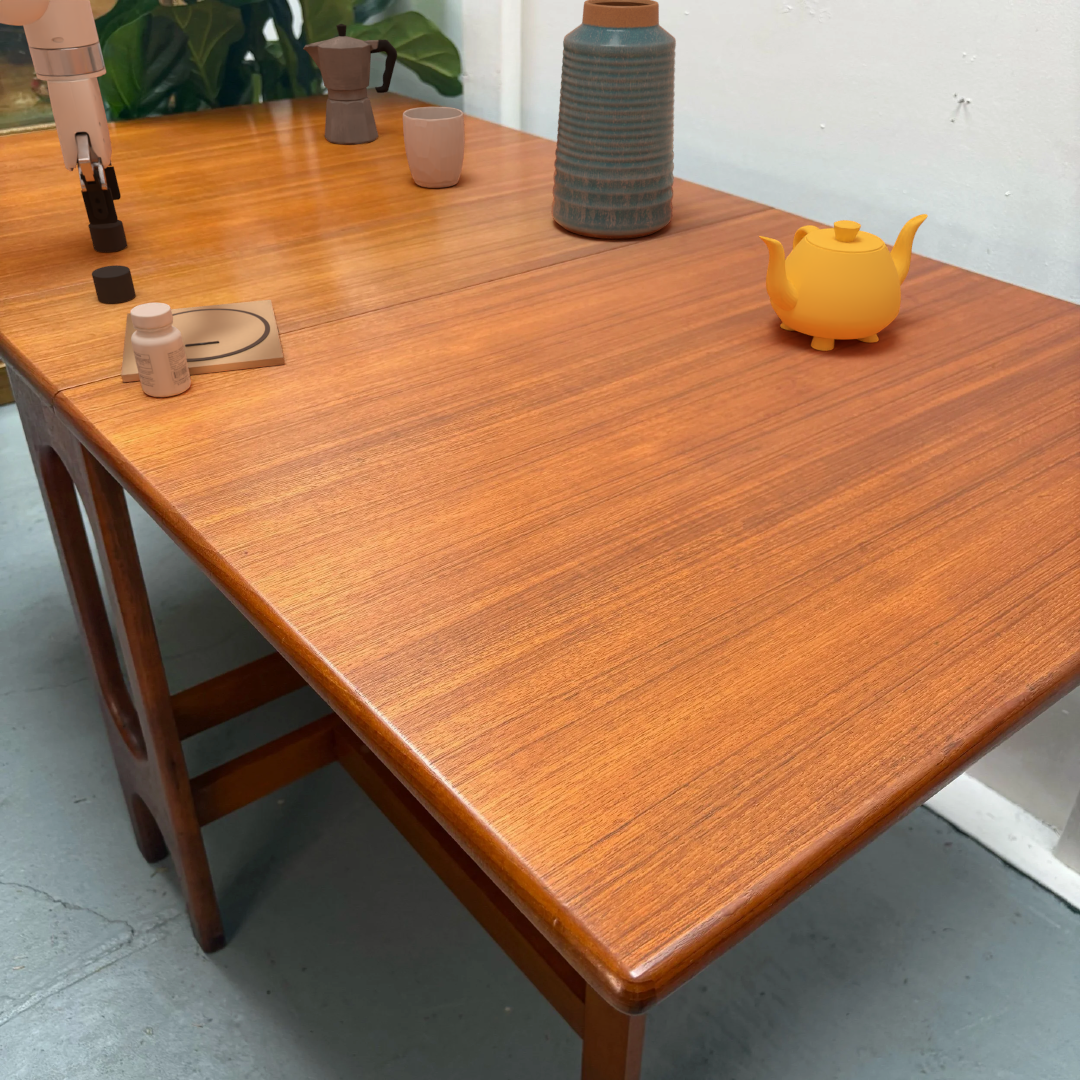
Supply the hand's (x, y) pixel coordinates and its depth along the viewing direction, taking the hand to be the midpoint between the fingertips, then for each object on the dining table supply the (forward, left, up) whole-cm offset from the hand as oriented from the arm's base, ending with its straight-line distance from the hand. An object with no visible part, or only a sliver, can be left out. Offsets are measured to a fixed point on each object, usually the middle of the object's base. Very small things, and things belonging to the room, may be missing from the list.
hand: (106, 211), depth 126 cm
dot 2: (+1, -19, -4) cm, 19 cm away
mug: (+45, +20, -5) cm, 50 cm away
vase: (+64, -8, -5) cm, 65 cm away
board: (+10, -34, -4) cm, 36 cm away
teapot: (+73, -49, -5) cm, 88 cm away
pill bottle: (+7, -45, -5) cm, 45 cm away
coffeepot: (+38, +50, -5) cm, 63 cm away
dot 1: (0, 0, -4) cm, 4 cm away
